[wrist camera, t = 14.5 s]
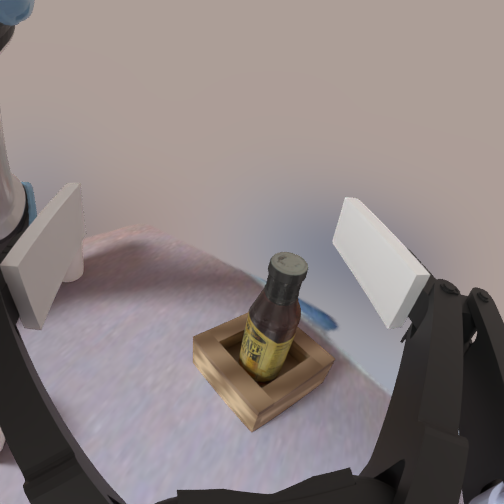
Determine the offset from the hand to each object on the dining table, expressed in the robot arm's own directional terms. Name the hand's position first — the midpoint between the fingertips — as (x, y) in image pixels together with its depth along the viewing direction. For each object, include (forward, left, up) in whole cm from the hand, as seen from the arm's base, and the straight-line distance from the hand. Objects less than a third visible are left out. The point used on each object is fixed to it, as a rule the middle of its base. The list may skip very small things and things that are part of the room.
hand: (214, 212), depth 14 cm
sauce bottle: (-6, +14, -31) cm, 35 cm away
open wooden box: (-6, +14, -32) cm, 35 cm away
